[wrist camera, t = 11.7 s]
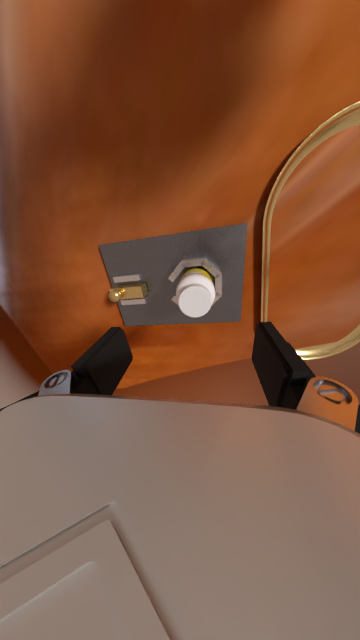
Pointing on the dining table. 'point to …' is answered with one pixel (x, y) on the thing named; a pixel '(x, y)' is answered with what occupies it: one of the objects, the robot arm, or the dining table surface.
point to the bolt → (128, 291)
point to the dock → (166, 262)
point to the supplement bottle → (195, 292)
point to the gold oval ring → (333, 125)
